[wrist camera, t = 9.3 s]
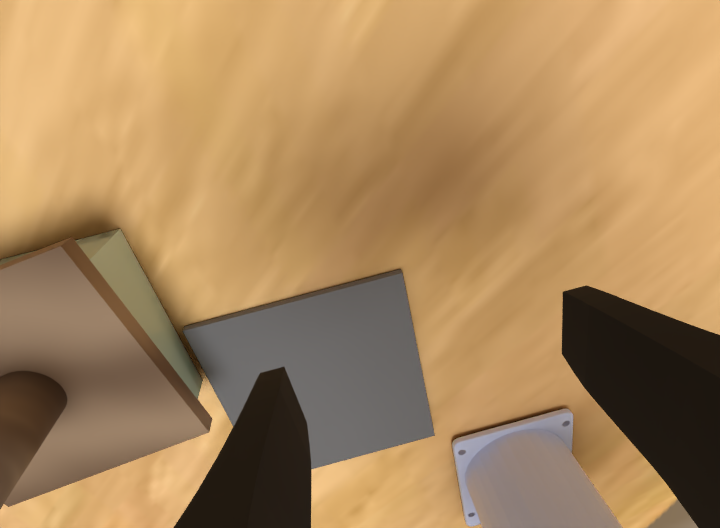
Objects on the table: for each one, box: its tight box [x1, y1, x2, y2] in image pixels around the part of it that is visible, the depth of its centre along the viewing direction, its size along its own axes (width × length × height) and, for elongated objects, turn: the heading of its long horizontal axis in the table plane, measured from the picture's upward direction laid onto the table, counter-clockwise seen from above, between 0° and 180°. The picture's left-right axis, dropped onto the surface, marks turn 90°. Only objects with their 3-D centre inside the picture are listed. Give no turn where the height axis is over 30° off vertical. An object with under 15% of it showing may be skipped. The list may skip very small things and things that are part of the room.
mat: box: [183, 269, 435, 469], centre depth 23 cm, size 12×11×1 cm
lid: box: [0, 237, 212, 509], centre depth 15 cm, size 10×10×5 cm
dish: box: [0, 229, 203, 399], centre depth 19 cm, size 9×9×3 cm
